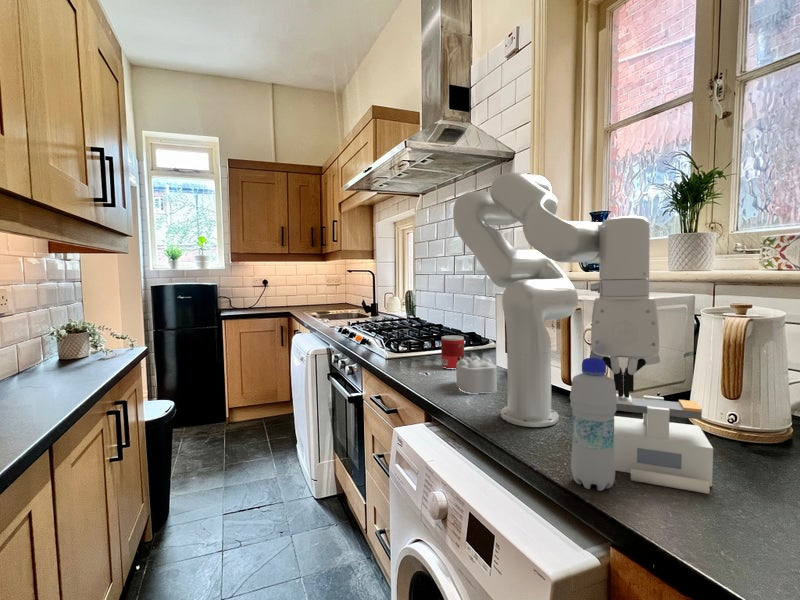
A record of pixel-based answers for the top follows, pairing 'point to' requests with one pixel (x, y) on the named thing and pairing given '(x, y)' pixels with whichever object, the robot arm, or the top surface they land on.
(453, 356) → the canned food
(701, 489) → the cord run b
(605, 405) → the bottle
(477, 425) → the top surface
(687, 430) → the box
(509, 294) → the robot arm
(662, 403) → the lever
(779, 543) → the top surface
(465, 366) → the lumpy-topped squat cylinder
